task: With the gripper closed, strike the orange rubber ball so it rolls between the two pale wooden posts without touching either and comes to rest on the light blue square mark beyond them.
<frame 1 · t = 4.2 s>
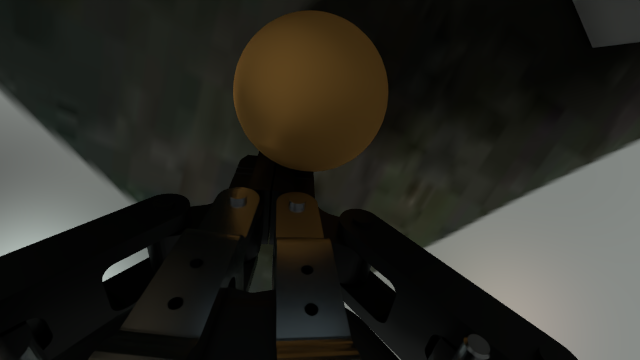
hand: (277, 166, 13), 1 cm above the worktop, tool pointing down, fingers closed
ball: (311, 96, 10), on the worktop
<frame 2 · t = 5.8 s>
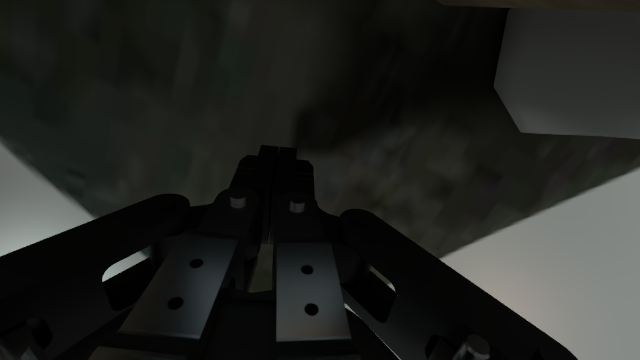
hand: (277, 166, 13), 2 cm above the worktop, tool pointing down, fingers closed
flask: (574, 47, 13), on the worktop
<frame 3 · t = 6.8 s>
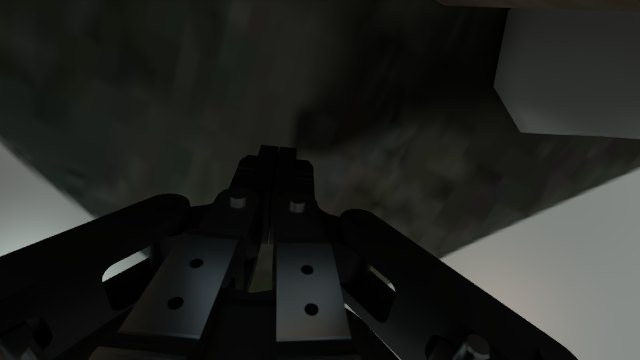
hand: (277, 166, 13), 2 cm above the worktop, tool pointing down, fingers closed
flask: (574, 47, 13), on the worktop
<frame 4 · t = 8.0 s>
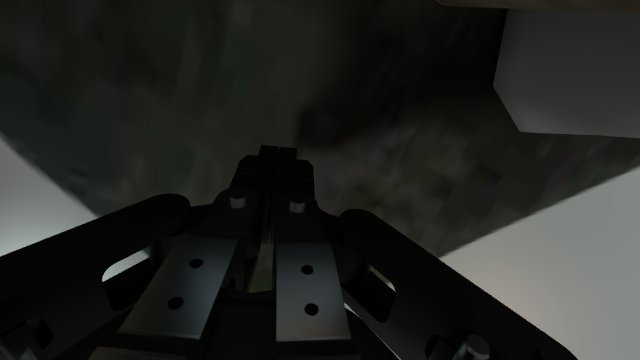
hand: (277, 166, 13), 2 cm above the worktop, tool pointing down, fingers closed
flask: (572, 47, 13), on the worktop
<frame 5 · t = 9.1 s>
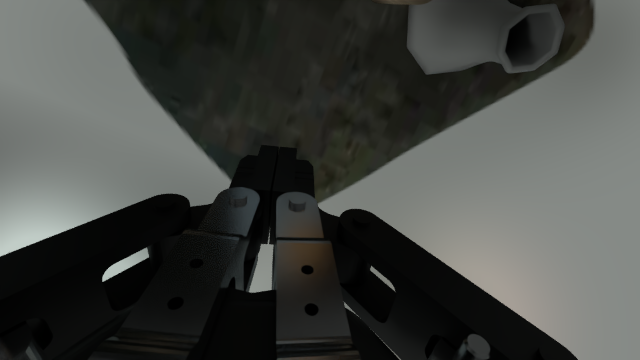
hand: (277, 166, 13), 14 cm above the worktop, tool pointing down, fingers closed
flask: (449, 26, 24), on the worktop
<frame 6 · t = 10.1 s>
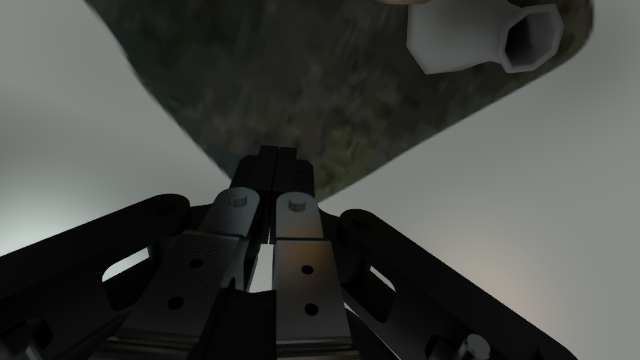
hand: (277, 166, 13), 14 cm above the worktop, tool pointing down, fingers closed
flask: (448, 25, 24), on the worktop
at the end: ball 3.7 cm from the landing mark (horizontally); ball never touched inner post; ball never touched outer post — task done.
